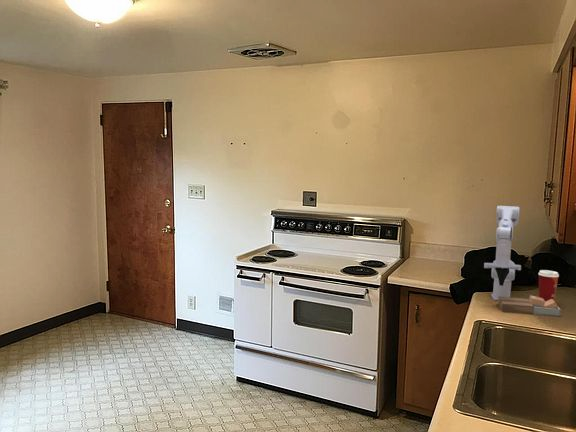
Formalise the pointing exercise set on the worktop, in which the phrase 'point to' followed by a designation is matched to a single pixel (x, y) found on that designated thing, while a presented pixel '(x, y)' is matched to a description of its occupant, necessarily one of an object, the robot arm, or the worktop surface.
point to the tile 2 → (550, 304)
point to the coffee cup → (547, 284)
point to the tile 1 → (537, 301)
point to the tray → (546, 311)
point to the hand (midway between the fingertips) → (501, 285)
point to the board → (515, 305)
